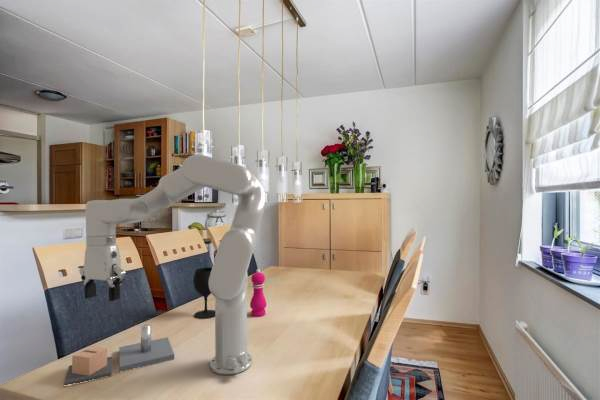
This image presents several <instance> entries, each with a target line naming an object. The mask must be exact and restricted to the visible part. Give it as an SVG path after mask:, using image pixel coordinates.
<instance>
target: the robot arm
mask: <svg viewBox="0 0 600 400" xmlns="http://www.w3.org/2000/svg"><path fill="white" fill-rule="evenodd" d="M204 188H205V189H206V188H208V189H212V190H217V191H220V192H223V193H227V194H229V195H234V196H237V197H238V199H237V200H238V201H237V205H236V208H235V211H234V215H233V218H232V222H231V225H230V227H229V230H228V231H226V232H225V233H224V234H223V236H222V237H221V239H220V241H219V244H218V247H217V250H216V254H215V258H214V260H213V264H212V267H211V268H212V270H211V274H210V277H209V289H210V292H211V295H212V296H213V298H215V303H214V307H215V309H214V310H215V317H214V318H215V319H214V320H215V321H214V323H215V324H214V325H215V327H214V330H215V331H214V333H215V334H214V336H215V338H214V340H215V341H214V342H215V343H214V344H215V346H214V349H215V351H214V352H215V355H214V357H213V358H212V359H211V360H210V363H209V368H210V370H211V371H212V372H213V373H216V374H220V375H227V376H228V375H229V376H230V375H236V374H239V373H241V372H244V371H246V370H248V369H249V368H250V367H251V366H252V364H253V356H252V355H251V354H250V353H248V285H249V284H248V283H249V280H248V279H249V275H248V270H249V266H250V263H251V259H252V257H253V253H254V250H256V245H257V239H258V235H259V231H260V228H261V224H262V220H263V217H264V212H265V207H266V193H265V190H264V187H263V184H262V183H261V182H260V181H259V180H258V178H257V177H256V176H255V175H254V174H253V173H252V172H251V171H250V170H249V169H248V168H246V167H245V166H243V165H241V164H237V163H234V162H230V161H229V162H228V161H226V160H222V159H217V158H215V157H211V156H207V155H204V154H198V153H197V154H196V153H195V154H192V155H190V156H189V157H187V158H186V159H184V161H183V163H182V166H181V167H180V168H177V169H175V170H174V171H172V172H169V173H168V174H165V175H164V176H162V177H161V178H160V179H159V181H158V184H157V186H155V188H153V189H152V190H150V191H148V192H147V193H145V194H143V195H140V196H139V197H136V198H118V199H117V198H116V199H112V200H109V199H106V200H105V199H97V200H96V199H94V200H88V201H87V202H86V204H85V244H86V246H85V250H84V259H83V260H84V264H83V266H82V268H80V269H79V274H80V276H81V277H80V279H81V280H82V282H83V283H82V284H83V286H84V299H85V300H86V299H87V300H88V299H91V298H94V297H96V296H97V283H96V281H106V282H107V283H108V285H109V287H108V301H109V302H114V301H116V300H120V299H121V289H120V286H121V285H122V282H123V281H124V278H125V275H126V271H125V270H124V269H123V268H122V265H121V264H122V263H121V262H122V261H121V255H120V250H119V246H118V245H117V236H116V235H117V234H116V233H117V232H116V229H117V228H116V225H127V224H136V223H140V222H143V221H146V220H148V219H150V218H152V217H154V216H156V215H158V214H159V213H161V212H163V211H165V210H166V209H168V208H170V207H171V206H174V205H175V204H176V203H177V202H179V201H181V200H183V199H185V198H187V197H188V196H190V195H192V194H194V193H196V192H198V191H201V190H203V189H204Z"/></svg>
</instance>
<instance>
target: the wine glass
mask: <svg viewBox="0 0 600 400" xmlns="http://www.w3.org/2000/svg"><path fill="white" fill-rule="evenodd" d="M211 270H212V267H201V268H197V269H195V271H194V275H193V281H192V282H193V286H194V289H195V291H196V292H197V293H198V294H199V295H201V296H202V298H204V310H200V311H196V312H195V313H193V318H195V319H199V320H207V319H211V318H215V309H214V310H213V309H208V297H209V296H210V295H212V293H211V292H210V289H209V277H210V274H211Z"/></svg>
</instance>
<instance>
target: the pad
mask: <svg viewBox="0 0 600 400" xmlns="http://www.w3.org/2000/svg"><path fill="white" fill-rule="evenodd" d="M112 369H113V356H107V365H106V366H105V367H103V368H101V369H100V370H98V371H96V372H94V373H93V374H91V375H89V376H88V375H82V374H75V373H72V364H70V365H68V367H67V371H66V373H65V374H66V375H65V378H64V381H63V386H64V385H68V384H73V383H80V382H84V381H88V382H90V381H89V380H92V379H97V378H101V377H105V376H109V377H111V376H110V375H112V372H113V370H112ZM112 376H113V375H112ZM105 378H106V377H105ZM101 379H102V378H101ZM97 380H98V379H97ZM84 383H85V382H84ZM80 384H81V383H80Z"/></svg>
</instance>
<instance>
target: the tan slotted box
mask: <svg viewBox="0 0 600 400" xmlns="http://www.w3.org/2000/svg"><path fill="white" fill-rule="evenodd" d="M107 357H108V347H103V346H102V347H99V346H92V345H91V346H88V347H87V348H84V349H82V350H80V351H78V352H76V353H74V354H72V357H71V358H72V359H71V361H72V362H71V365H72V373H75V374H82V375H88V376H89V375H91V374H93V373H94V372H96V371H98V370H100V369H101V368H103V367H105V366H106V365H107Z"/></svg>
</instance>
